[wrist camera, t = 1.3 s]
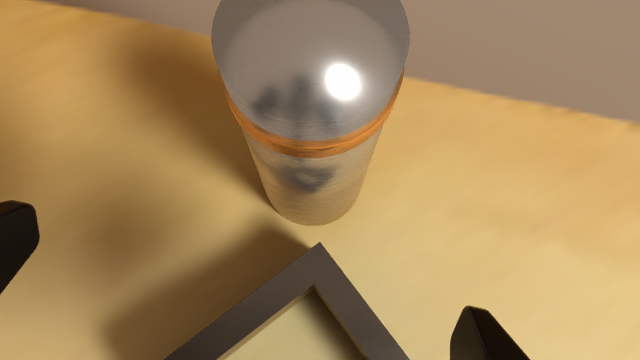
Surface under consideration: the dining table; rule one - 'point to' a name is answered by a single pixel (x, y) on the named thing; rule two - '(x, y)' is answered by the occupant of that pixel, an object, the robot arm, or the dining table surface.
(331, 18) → the tube
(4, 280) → the robot arm
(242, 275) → the dining table surface
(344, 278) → the collar
